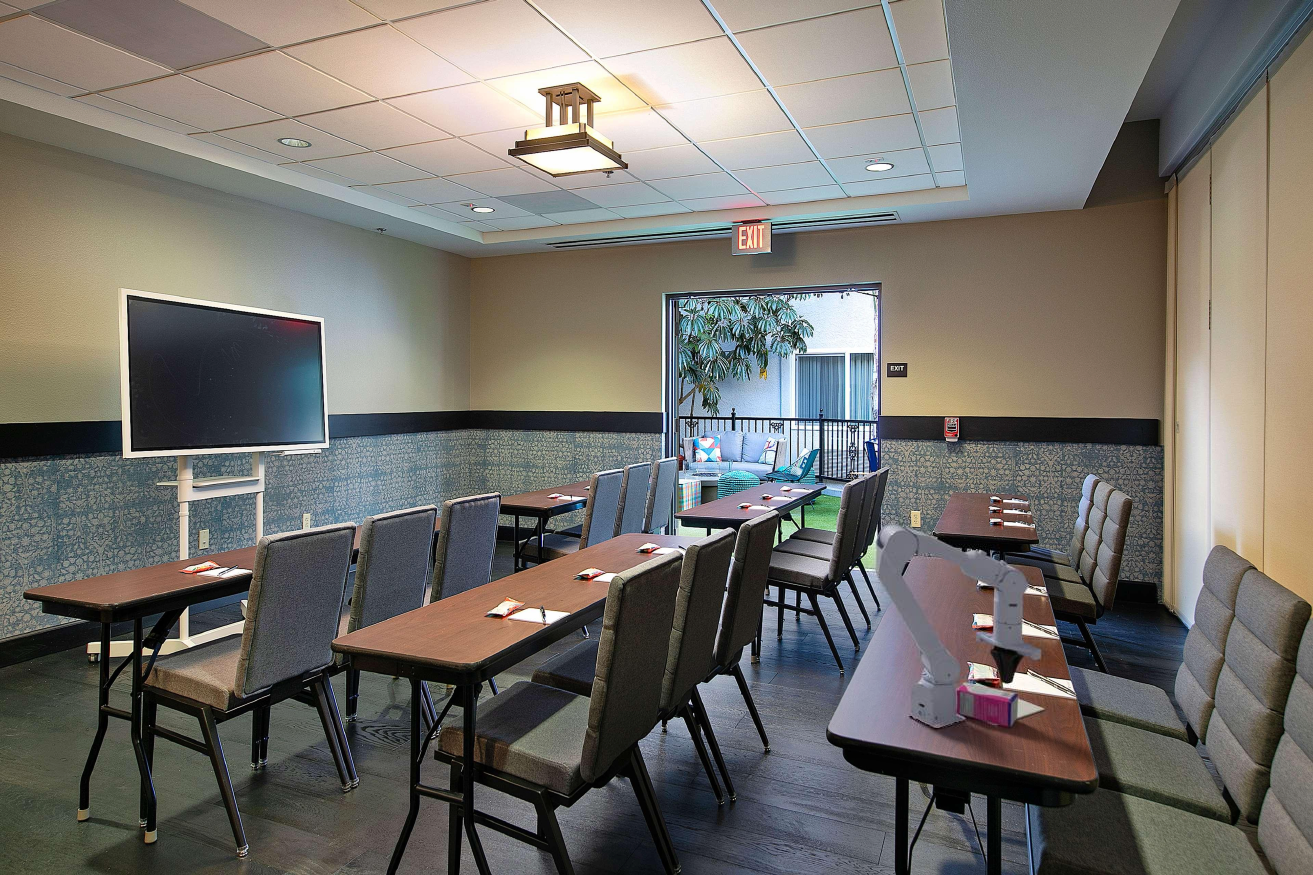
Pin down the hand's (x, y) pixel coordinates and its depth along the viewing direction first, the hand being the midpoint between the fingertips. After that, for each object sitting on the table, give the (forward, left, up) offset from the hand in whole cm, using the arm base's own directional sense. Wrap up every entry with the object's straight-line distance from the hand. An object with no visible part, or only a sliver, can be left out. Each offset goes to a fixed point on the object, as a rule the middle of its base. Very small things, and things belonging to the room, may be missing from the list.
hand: (1006, 682), depth 164 cm
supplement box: (-1, -3, -5) cm, 6 cm away
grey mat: (+4, +8, -8) cm, 12 cm away
